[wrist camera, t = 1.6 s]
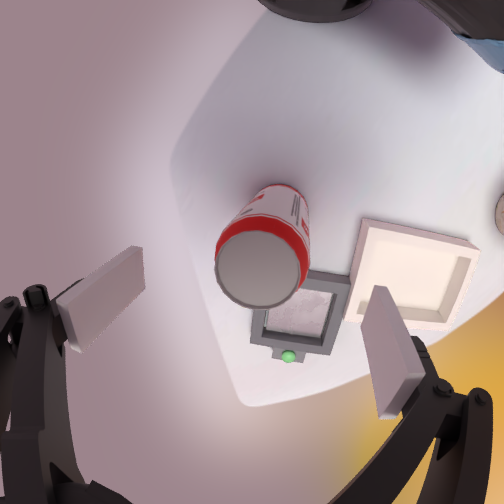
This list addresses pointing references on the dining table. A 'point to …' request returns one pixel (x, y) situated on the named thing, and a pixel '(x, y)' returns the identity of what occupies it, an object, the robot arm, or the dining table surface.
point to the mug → (500, 215)
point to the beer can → (265, 249)
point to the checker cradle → (298, 345)
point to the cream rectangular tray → (411, 273)
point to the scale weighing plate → (301, 313)
